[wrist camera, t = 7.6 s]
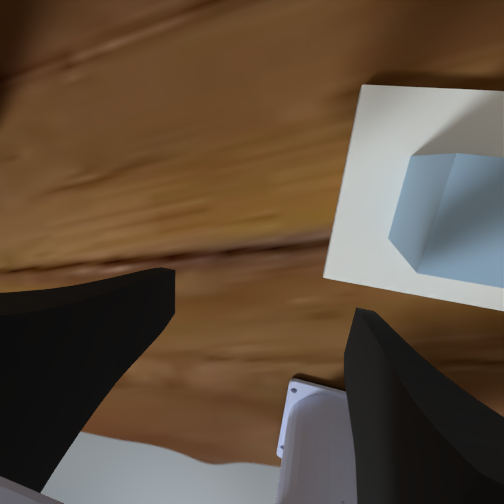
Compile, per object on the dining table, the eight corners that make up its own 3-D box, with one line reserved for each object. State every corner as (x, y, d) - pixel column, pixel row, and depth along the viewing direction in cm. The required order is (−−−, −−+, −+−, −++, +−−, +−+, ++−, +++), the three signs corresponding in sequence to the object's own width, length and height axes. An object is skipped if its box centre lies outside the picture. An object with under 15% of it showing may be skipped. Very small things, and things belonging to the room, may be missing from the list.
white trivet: (509, 306, 18) (519, 314, 17) (323, 272, 20) (323, 277, 19) (605, 101, 14) (625, 96, 13) (360, 88, 16) (362, 84, 15)
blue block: (475, 251, 17) (551, 296, 11) (387, 238, 18) (417, 273, 12) (509, 165, 15) (618, 168, 9) (410, 156, 16) (456, 153, 10)
